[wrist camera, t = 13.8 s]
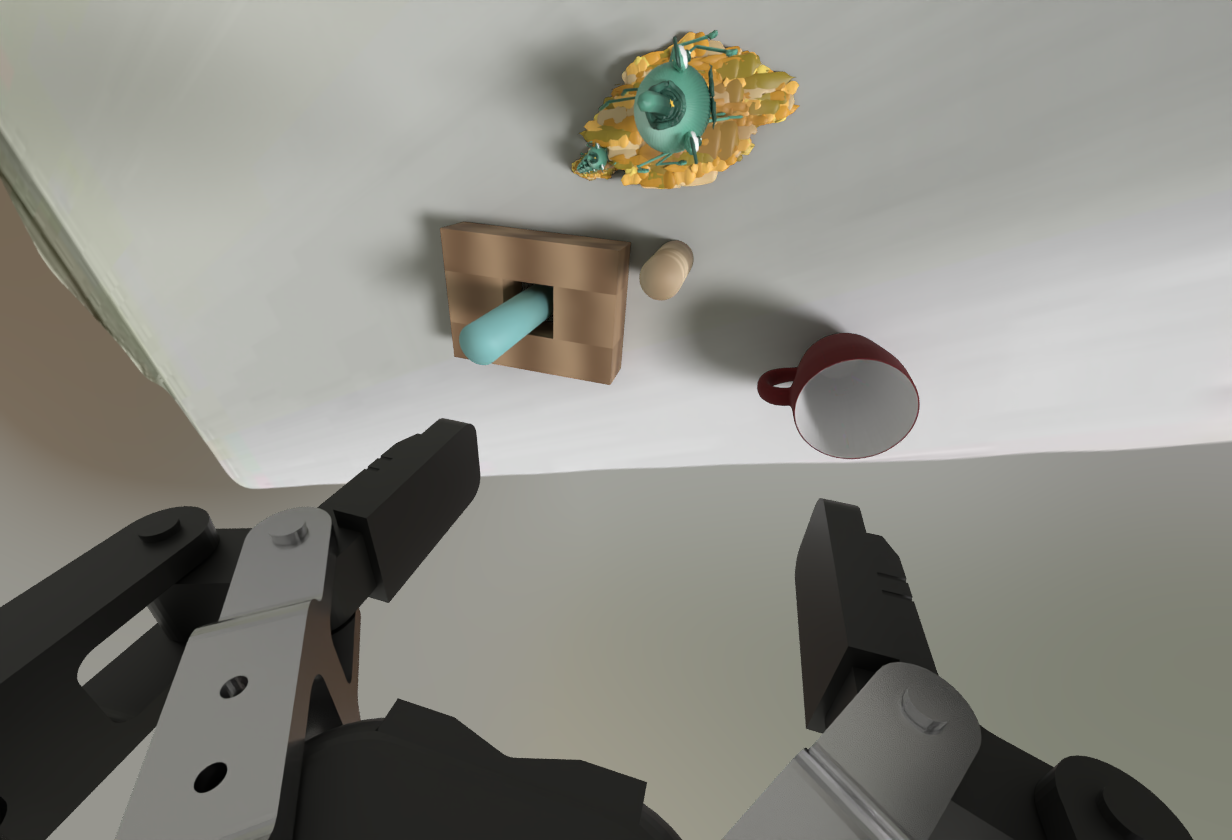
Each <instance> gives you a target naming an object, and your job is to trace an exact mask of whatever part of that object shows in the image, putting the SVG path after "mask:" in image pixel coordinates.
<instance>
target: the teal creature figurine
mask: <svg viewBox="0 0 1232 840" xmlns="http://www.w3.org/2000/svg"><path fill="white" fill-rule="evenodd" d="M717 35H718V32H717V30H714V31H713V32H711V33H709V35H706V36H705V34H704V33H703V32H699V33H697V34H695V33H693V32H689V33H687V34H686V35H685V36H684V37H683V38H682V39H681V40H680V41H679V42H678V43H677V37H676V36H675V37H673V45H671V46H669V47H668V48H667V49H666V50H664V51H657V52H650V53H648V54H646V55H644V56H642V57H639V56H638V57H637V58H636V59H635V60H634V62H633V63H631V64H629V66H628V67H627V68H626V71H624V72H623V74H622V79H623V81H624V82H625V84H626V85H622V86H619V87H617V88H614V89H612V90H613V91H612V93H611V95H612V97H607V98H605V99H604V103H603V105H602V106H601V107H600V108H599V110H600V111H599V113H598V114H596V115H595V116H594V120H593V121H588V122H587V123H586V125H585V126H584V127H585V128H586V129H587V130H585V131H583V132H581V133H578V134H581V135H582V136H583V137H584V139H585V140H586V142H589V143H593V145H592V146H593V147H591V146H589V145H588V144H589V143H588V144H587V145H586V146H588V147H591V148H589V149H588V152H587V153H585V154H583V153H581V155H583V156H581V157H580V159H579V160H576V161H575V162H574V163H572V171H573V173H574V174H578V175H579V176H580V177H583V178H586V179H588V180H594V179H596V178H606V179H609V178H611V175H612V174H614V173H615V171H616V170H618V169H622V170H625V173H626V174H625V175H623V177H622V179H621V181H622V183H623V185H624V186H625V185H629V184H641V186H642V187H643V188H658V189H671V188H680V186H697V185H703V184H708V183H712V182H713V181H714V180H715V179H716V176H717V174H718V171H724V170H726V169H727V168H728V167H729V166H730V165H733V164H734V163H735V162H736V161H741V160H742V158H743V157H742V155H740V154H744V155H749V153H750V152H751V150H752V149H753V147H754V146H755V145H754V144H753V143H751V139H750V135H751V134H754V135H755V134H756V133H757V129H756V128H757V127H759V126H760V125H765V124H769V123H777V122H781V121H783V120H785V119H786V117H787V116H788V115H790V114H792V113H793V112H794V111H795V110H796V109H797V108H798V107H799V106H798V105H793V104H794V102H795V101H794V96H793V94H794V93H795V92H796V90H797V88H798V86H799V84H798V83H797V82H796V81H791V82H789V81H790V80H791V79H792V78H795V77H791V76H790V75H788V74H787V73H785V72H773V71H772V70H770V68H768V67H766V66H765V65H763V64H762V65H761V62H760V59H759V56H758V55H756V54H755V53H754V52H749V51H744V52H743V51H742V50H741V49H740V47H739V46H734V47H729V48H726V49H725V47H724V46H723V45H722V43H721V42H720V41H713V40H710V41H708V40H707V39H708V38H710V39H713V38H715V37H716V36H717ZM788 82H789V83H788ZM617 85H619V84H617Z"/></svg>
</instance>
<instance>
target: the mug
mask: <svg viewBox="0 0 1232 840" xmlns="http://www.w3.org/2000/svg"><path fill="white" fill-rule="evenodd" d="M789 381H794V382H793V384H792V386H791V387H790V388H779V387H774V385H777V384H780V383H784V382H789ZM757 389H758V393H759V395H760V397H761V398H762V399H763V400H765V401H766V402H768V403H770V404H774V405H780V406H791V408H792V411H793V416H794V421H795V425H796V428H797V430H798V432H799V434H800V435H801V437H802V438H803V439H804V440H805V441H806V442H807V443H808V444H809V445H810V446H811V447H813V448H814V449H816V450H817V451H819V452H821V453H823V454H826V455H829V456H832V457H836V458H843V459H860V458H866V457H871V456H874V455H877V454H880V453H883V452H885V451H887V450H889V449H890V448H892V447H894V446H895V445H897V444H898V443H899V442H900V441H902V440H903V439H904V438H905V437H906V436H907V434H908V433H909V432H910V431H911V429H912V428H913V426H914V424H915V422H916V420H917V417H918V413H919V396H918V392H917V389H916V386H915V385H914V383H913V381H912V379H911V377H910V375H909V374H908V372H907V370H906V369H905V368H904V366H903V365H902V364H901V363H900V362H899V360H898V359H896V358H895V357H894V356H893V355H892V354H891V353H889V352H888V351H886V350H885V349H883V348H882V347H880V346H879V345H877V344H876V343H874V342H873V341H871V340H869V339H868V338H866V337H863V336H861V335H857V334H852V333H838V334H833V335H829V336H827V337H824V338H822V339H820V340H819V341H817V342H816V343H814V344H813V345H812V346H811V347H810V348H809V349H808V350H807V351H806V353H805V354H804V356H803V357H802V359H801V361H800V363H799V365H798V367H792V368H779V369H774V370H770V371H768V372H766V373H764V374H763V375H762V376H761V377H760V378H759V381H758V385H757Z"/></svg>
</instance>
